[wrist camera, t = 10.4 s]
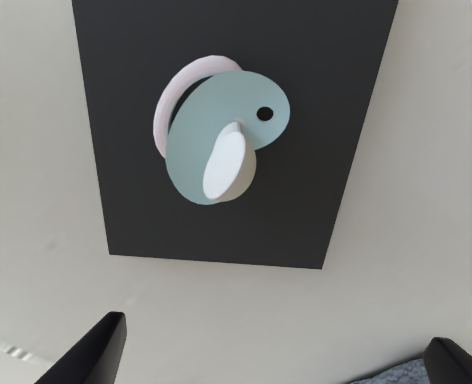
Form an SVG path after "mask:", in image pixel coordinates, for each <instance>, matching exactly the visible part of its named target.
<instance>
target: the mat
mask: <svg viewBox="0 0 472 384" xmlns="http://www.w3.org/2000/svg"><path fill="white" fill-rule="evenodd" d="M398 1H399V0H72V6H73V13H74V19H75V26H76V33H77V40H78V46H79V53H80V60H81V67H82V73H83V80H84V87H85V94H86V100H87V107H88V114H89V121H90V127H91V134H92V141H93V148H94V154H95V161H96V168H97V175H98V181H99V188H100V195H101V202H102V208H103V215H104V222H105V229H106V235H107V242H108V249H109V254H110V255H123V256H137V257H151V258H165V259H180V260H194V261H208V262H222V263H236V264H251V265H265V266H279V267H293V268H308V269H322V266H323V263H324V259H325V256H326V252H327V249H328V245H329V242H330V238H331V235H332V231H333V228H334V224H335V221H336V217H337V214H338V210H339V207H340V203H341V200H342V196H343V193H344V189H345V186H346V182H347V179H348V175H349V172H350V168H351V165H352V162H353V158H354V155H355V151H356V148H357V144H358V141H359V137H360V134H361V130H362V127H363V123H364V120H365V116H366V113H367V109H368V106H369V102H370V99H371V95H372V92H373V88H374V85H375V81H376V78H377V74H378V71H379V67H380V64H381V60H382V57H383V53H384V50H385V46H386V43H387V39H388V36H389V32H390V29H391V25H392V22H393V18H394V15H395V11H396V8H397V4H398ZM211 55H213V56H225V57H227V58H229V59H231V60H233V61H235V62H236V63H237V64H238V65H239V67H240V68H241V69H242V70H243V71H249V72H254V73H257V74H261V75H263V76H265V77H267V78H269V79H270V80H272V81H273V82H275V83H276V84H277V85H278V86H279V87H280V88H281V89H282V90H283V92H284V94H285V95H286V97H287V99H288V102H289V106H290V116H289V121H288V123H287V125H286V128H285V129H284V131H283V132H282V133H281V134H280V136H279V137H277V138H276V139H275V140H274V141H273V142H271V143H269V144H268V145H266V146H264V147H262V148H260V149H256V150H254V151H255V155H256V171H255V175H254V177H253V180H252V182H251V184H250V185H249V187H248V188H247V189H246V191H245V192H244V193H242V194H241V195H240V196H238V197H237V198H235V199H233V200H229V201H224V202H219V203H215V204H210V205H203V204H197V203H195V202H192V201H190V200H189V199H187V198H185V197H184V196H183V195H182V194H181V193H180V192H179V191H178V190H177V188H176V187H175V186H174V184H173V182H172V180H171V178H170V176H169V174H168V171H167V166H166V161H165V158H164V157H163V156H162V155H161V153H160V152H159V150H158V148H157V146H156V143H155V139H154V135H153V123H154V116H155V112H156V108H157V105H158V102H159V100H160V98H161V96H162V93H163V91H164V90H165V88H166V87H167V86H168V84H169V83H170V81H171V80H172V79H173V77H174V76H175V75H177V74H178V73H179V72H180V71H181V70H182V69H183V68H184V67H185V66H187V65H189V64H190V63H192V62H194V61H195V60H197V59H200V58H204V57H207V56H211ZM211 77H213V76H208V77H205V78H201V79H200V80H198V81H196V82H195V83H193V84H192V85H191V86H190V87H188V88H187V89H186V90H185V91H184V93H183V94H182V96H181V97H180V98H179V100H178V102H177V104H176V106H175V108H174V110H173V113H172V117H171V122H170V129H171V126H172V123H173V121H174V119H175V117H176V115H177V113H178V111H179V110H180V108H181V106H182V105H183V103H184V102H185V101H186V99H187V98H188V97H189V95H190V94H191V93H192V92H193V91H194V90H195V89H196V88H197V87H198V86H200V85H201V84H202V83H203V82H205V81H206V80H208V79H209V78H211ZM273 114H274V112H273V110H272V109H271V108H269V107H266V106H265V107H261V108H259V109H258V111H257V113H256V115H257V117H258V118H259V119H260V120H262V121H268V120H270V119H271V118H272V117H273Z"/></svg>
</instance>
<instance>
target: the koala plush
mask: <svg viewBox="0 0 472 384" xmlns="http://www.w3.org/2000/svg"><path fill="white" fill-rule="evenodd" d="M350 384H430V382H429V379H428V376H427V373H426V370H425V367H424V363H423V358H422V359H417V360H411V361H409V362H408V363H403V364H402V365H400V366H396V367H392V368H391V369H389V370H387V371H385V372H382V373H381V374H380V375H377V376H374V377H373V378H372V379H364V380H360V381H355V382H351V383H350Z"/></svg>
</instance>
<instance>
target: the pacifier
mask: <svg viewBox="0 0 472 384" xmlns="http://www.w3.org/2000/svg"><path fill="white" fill-rule="evenodd" d="M208 76H213V77H211V78H209V79H208V80H206V81H205V82H203V83H202V84H201V85H200V86H198V87H197V88H196V89H195V90H194V91H193V92H192V93H191V94H190V95H189V97H188V98H187V99H186V101H185V102H184V103H183V105H182V106H181V108H180V110H179V111H178V113H177V115H176V117H175V119H174V121H173V123H172V126H171V129H170V122H171V117H172V113H173V110H174V108H175V106H176V104H177V102H178V100H179V98H180V97H181V96H182V94H183V93H184V91H185V90H186V89H187V88H188V87H190V86H191V85H192V84H193V83H195V82H196V81H198V80H200V79H201V78H205V77H208ZM265 106H266V107H269V108H271V109H272V110H273V112H274V114H273V117H272V118H271V119H270V120H268V121H262V120H260V119H259V118H258V117H257V115H256V113H257V111H258V109H259V108H261V107H265ZM289 116H290V106H289V102H288V99H287V97H286V95H285V94H284V92H283V90H282V89H281V88H280V87H279V86H278V85H277V84H276V83H275V82H273V81H272V80H270V79H269V78H267V77H265V76H263V75H261V74H257V73H254V72H249V71H243V70H242V69H241V68H240V67H239V65H238V64H237V63H236V62H235V61H233V60H231V59H229V58H227V57H225V56H213V55H211V56H207V57H204V58H200V59H197V60H195V61H194V62H192V63H190V64H189V65H187V66H185V67H184V68H183V69H182V70H181V71H180V72H179V73H178V74H177V75H175V76H174V77H173V79H172V80H171V81H170V83H169V84H168V86H167V87H166V88H165V90H164V91H163V93H162V96H161V98H160V100H159V102H158V105H157V108H156V112H155V116H154V123H153V135H154V139H155V143H156V146H157V148H158V150H159V152H160V153H161V155H162V156H163V157H164V158H165V161H166V166H167V171H168V174H169V176H170V178H171V180H172V182H173V184H174V186H175V187H176V188H177V190H178V191H179V192H180V193H181V194H182V195H183V196H184V197H185V198H187V199H189V200H190V201H192V202H195V203H197V204H203V205H210V204H215V203H219V202H224V201H229V200H233V199H235V198H237V197H238V196H240V195H241V194H242V193H244V192H245V191H246V189H247V188H248V187H249V185H250V184H251V182H252V180H253V177H254V175H255V171H256V155H255V151H254V150H256V149H260V148H262V147H264V146H266V145H268V144H269V143H271V142H273V141H274V140H275V139H276V138H277V137H279V136H280V134H281V133H282V132H283V131H284V129H285V128H286V125H287V123H288V121H289Z"/></svg>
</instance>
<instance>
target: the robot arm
mask: <svg viewBox="0 0 472 384" xmlns="http://www.w3.org/2000/svg"><path fill="white" fill-rule="evenodd" d="M126 336H127V327H126V318H125V314H124V313H123V312H113V311H112V312H109V313H107V314H106V315H105V316H104V317H103V318H102V319H101V320H100V321H99V322H98V323H97V324H96V325H95V326H94V327H93V328H92V329H91V330H90V331H89V332H88V333H86V334H85V335H84V336H83V337H82V338H81V339H80V340H79V341H78V342H77V343H76V344H75V345H74V346H73V347H72V348H71V349H70V350H69V351H68V352H67V353H66V354H65V355H64V356H63V357H61V358H60V359H59V360H58V361H57V362H56V363H55V364H54V365H53V366H52V367H51V368H50V369H49V370H48V371H47V372H46V373H45V374H44V375H43V376H42V377H41V378H40V379H39V380H37V382H35V383H34V384H114V382H115V378H116V374H117V370H118V367H119V363H120V359H121V356H122V352H123V348H124V345H125V341H126ZM423 363H424V367H425V370H426V373H427V376H428V379H429V382H430V384H472V356H471V355H469V354H468V353H467V352H466V351H465V350H463V349H462V348H461V347H460V346H459V345H457V344H456V343H455V342H454V341H452V340H451V339H449V338H442V337H435V338H433V339H432V340H431V342H430V343H429V345H428V347H427V348H426V350H425V351H424V353H423Z"/></svg>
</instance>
